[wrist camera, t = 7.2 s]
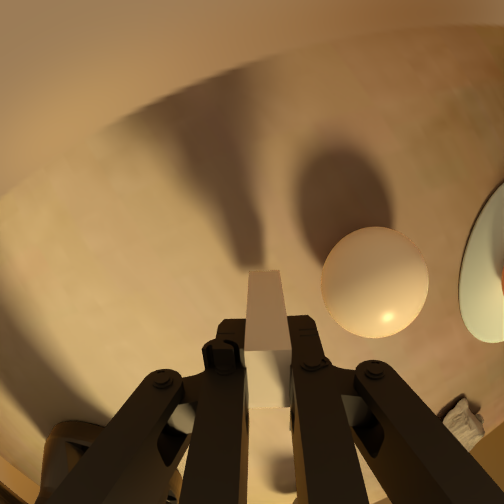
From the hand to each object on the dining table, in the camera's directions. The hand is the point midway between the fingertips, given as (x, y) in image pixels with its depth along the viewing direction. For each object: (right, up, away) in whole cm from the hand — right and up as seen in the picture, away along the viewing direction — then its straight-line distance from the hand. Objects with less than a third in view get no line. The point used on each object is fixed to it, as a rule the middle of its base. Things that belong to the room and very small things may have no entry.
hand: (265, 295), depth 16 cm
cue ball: (+5, +1, -1) cm, 6 cm away
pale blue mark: (+20, +1, +1) cm, 20 cm away
